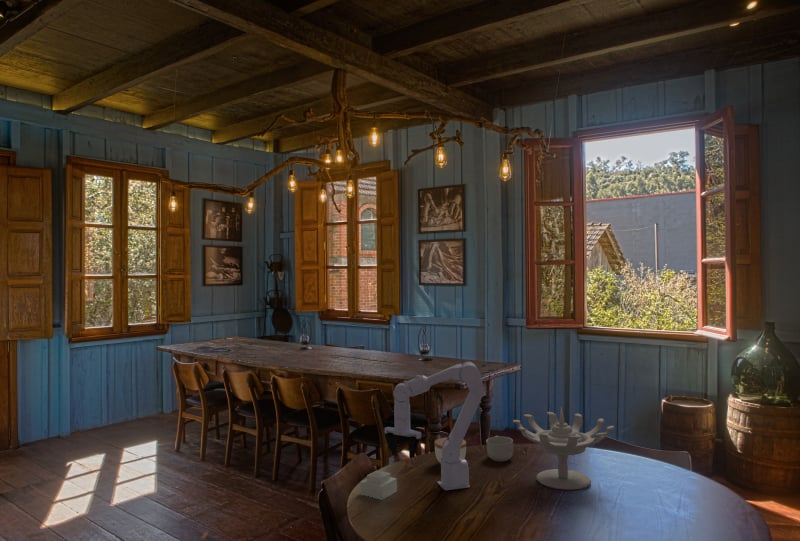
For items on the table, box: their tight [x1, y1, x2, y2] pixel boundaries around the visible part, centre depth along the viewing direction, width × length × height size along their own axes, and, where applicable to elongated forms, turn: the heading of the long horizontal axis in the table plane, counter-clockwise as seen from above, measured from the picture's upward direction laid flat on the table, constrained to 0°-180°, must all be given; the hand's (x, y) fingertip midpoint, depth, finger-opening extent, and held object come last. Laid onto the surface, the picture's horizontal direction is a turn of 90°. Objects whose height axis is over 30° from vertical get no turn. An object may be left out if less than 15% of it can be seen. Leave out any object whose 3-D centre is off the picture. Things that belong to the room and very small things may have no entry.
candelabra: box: [512, 406, 615, 491], centre depth 197 cm, size 34×35×27 cm
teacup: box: [485, 435, 514, 463], centre depth 225 cm, size 14×11×8 cm
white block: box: [359, 470, 398, 501], centre depth 190 cm, size 9×9×6 cm
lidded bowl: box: [433, 437, 467, 464], centre depth 218 cm, size 13×13×11 cm
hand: (403, 455), depth 197 cm, fingers open, 7 cm apart
